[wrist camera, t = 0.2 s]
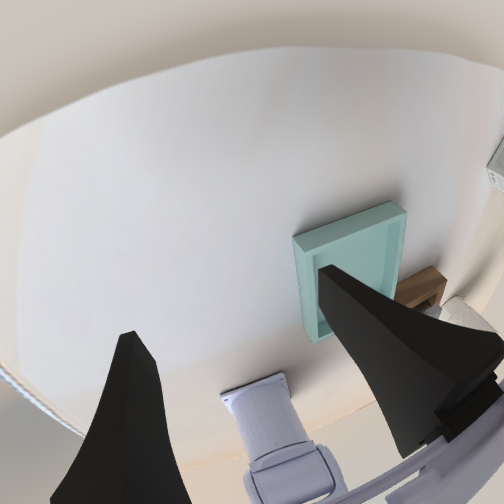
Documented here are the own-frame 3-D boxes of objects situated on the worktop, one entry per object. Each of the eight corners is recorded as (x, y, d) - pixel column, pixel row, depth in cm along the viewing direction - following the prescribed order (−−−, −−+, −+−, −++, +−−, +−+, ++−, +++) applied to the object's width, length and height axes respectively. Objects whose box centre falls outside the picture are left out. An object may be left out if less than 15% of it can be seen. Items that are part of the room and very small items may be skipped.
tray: (381, 293, 31) (392, 305, 30) (304, 329, 30) (313, 344, 28) (391, 200, 24) (406, 211, 23) (292, 237, 23) (304, 252, 21)
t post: (408, 302, 35) (433, 331, 31) (397, 308, 35) (423, 338, 30) (413, 279, 32) (442, 308, 28) (402, 285, 32) (431, 316, 28)
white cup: (467, 291, 42) (503, 329, 34) (443, 326, 46) (475, 363, 38) (447, 293, 39) (488, 336, 31) (421, 331, 42) (456, 374, 35)
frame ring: (423, 296, 36) (437, 310, 33) (377, 322, 35) (390, 338, 32) (431, 265, 32) (447, 280, 30) (382, 291, 31) (398, 309, 29)
